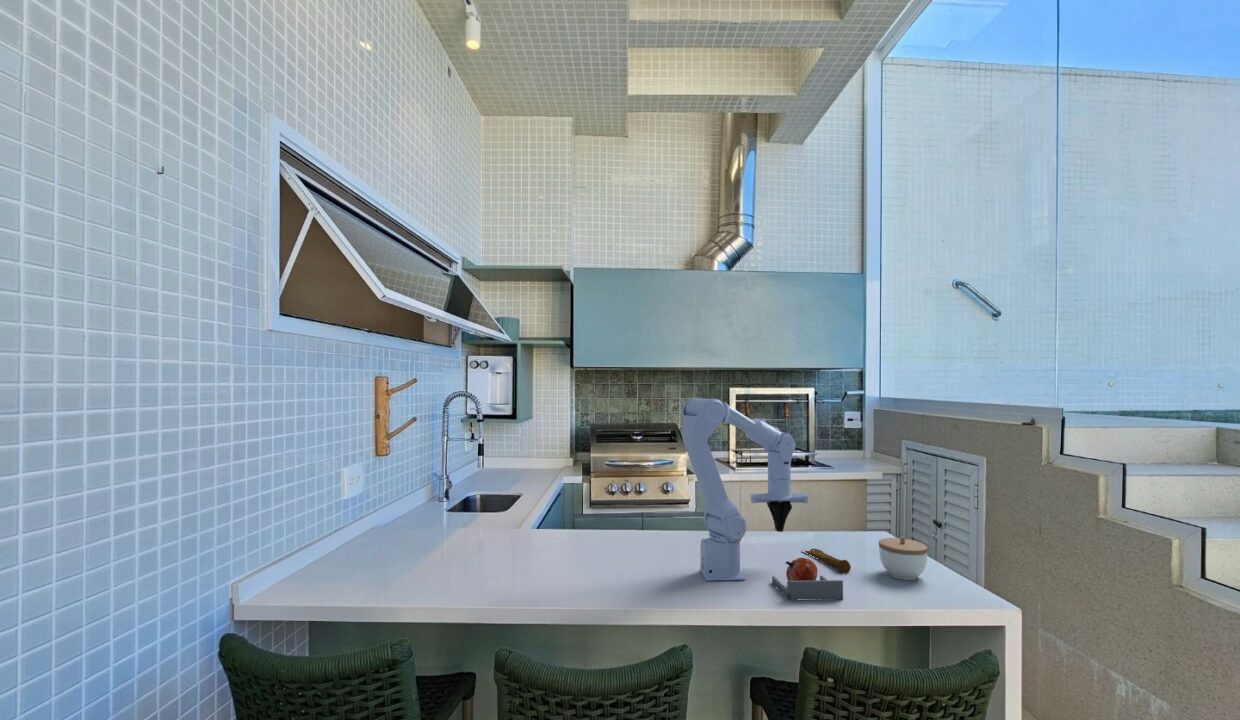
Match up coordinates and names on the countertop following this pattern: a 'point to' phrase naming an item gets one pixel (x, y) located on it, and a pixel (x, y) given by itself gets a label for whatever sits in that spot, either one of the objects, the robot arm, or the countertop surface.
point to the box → (811, 589)
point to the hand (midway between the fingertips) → (779, 530)
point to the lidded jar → (903, 557)
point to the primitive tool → (831, 560)
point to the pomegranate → (801, 570)
